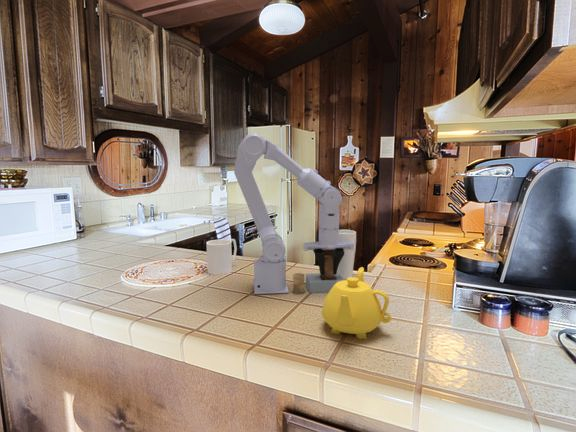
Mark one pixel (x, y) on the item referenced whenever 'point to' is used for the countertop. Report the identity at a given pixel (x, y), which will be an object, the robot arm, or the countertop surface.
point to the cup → (220, 256)
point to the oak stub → (298, 283)
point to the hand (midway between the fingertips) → (328, 273)
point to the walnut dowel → (328, 268)
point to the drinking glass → (347, 254)
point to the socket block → (320, 282)
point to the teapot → (354, 307)
